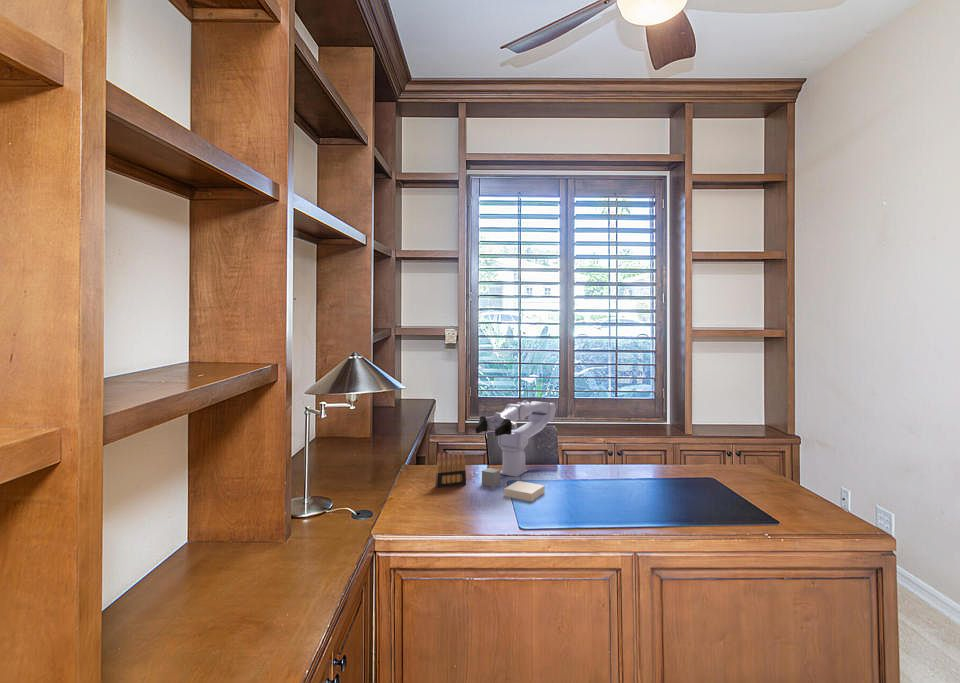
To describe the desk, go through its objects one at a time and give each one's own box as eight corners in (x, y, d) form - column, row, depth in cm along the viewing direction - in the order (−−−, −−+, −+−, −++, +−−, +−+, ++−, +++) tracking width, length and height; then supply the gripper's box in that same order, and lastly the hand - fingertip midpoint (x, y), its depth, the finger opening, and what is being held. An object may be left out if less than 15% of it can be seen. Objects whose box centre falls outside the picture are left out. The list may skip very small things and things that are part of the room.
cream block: (517, 489, 193) (517, 480, 193) (544, 494, 188) (544, 485, 188) (504, 497, 184) (504, 488, 184) (531, 502, 179) (531, 493, 179)
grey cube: (488, 481, 201) (488, 467, 200) (500, 483, 198) (500, 469, 198) (481, 484, 196) (481, 470, 196) (493, 487, 194) (493, 472, 194)
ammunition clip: (436, 487, 192) (437, 453, 192) (435, 486, 194) (435, 452, 193) (466, 484, 196) (466, 450, 196) (464, 483, 198) (464, 449, 197)
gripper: (486, 406, 207) (467, 418, 196) (521, 410, 200) (504, 422, 188) (487, 425, 209) (468, 437, 197) (522, 429, 201) (505, 442, 190)
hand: (486, 431), depth 193 cm, fingers open, 7 cm apart
